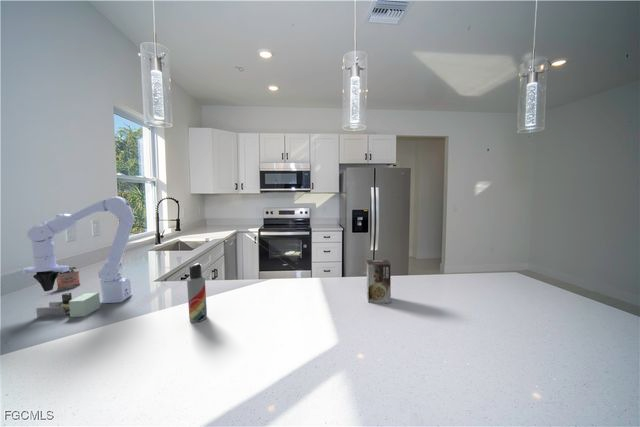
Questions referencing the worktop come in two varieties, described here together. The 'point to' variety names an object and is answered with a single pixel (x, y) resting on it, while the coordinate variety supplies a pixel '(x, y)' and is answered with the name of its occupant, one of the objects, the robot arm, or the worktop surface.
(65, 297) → the sliding bolt
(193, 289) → the lotion bottle
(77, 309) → the socket
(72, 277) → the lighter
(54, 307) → the grey u channel
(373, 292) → the coffee box
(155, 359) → the worktop surface
